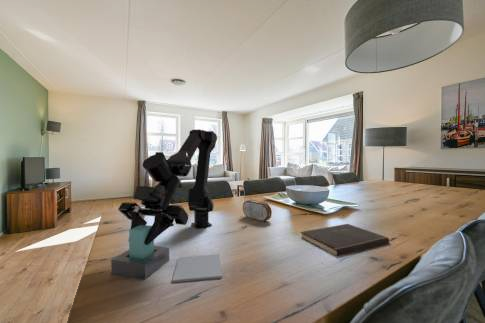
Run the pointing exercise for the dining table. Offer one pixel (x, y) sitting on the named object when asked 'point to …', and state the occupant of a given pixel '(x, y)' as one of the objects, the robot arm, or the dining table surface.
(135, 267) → the socket block
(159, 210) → the robot arm
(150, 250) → the peg
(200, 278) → the mat
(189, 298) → the dining table surface
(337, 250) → the hardcover book
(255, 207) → the portable speaker
